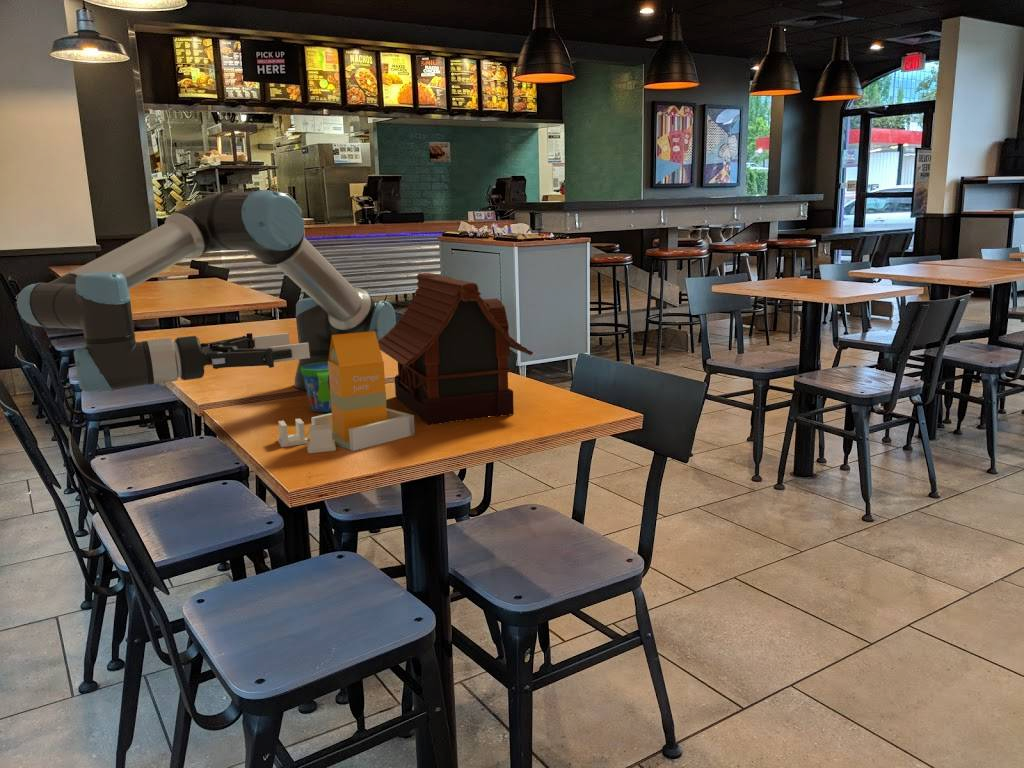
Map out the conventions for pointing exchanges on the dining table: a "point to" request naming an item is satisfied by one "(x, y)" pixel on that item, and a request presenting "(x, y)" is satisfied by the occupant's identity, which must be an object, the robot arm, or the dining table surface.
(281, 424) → the clip
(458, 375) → the house
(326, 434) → the white upright piece
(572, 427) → the dining table surface
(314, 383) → the snack cup
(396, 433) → the tray
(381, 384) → the orange juice
